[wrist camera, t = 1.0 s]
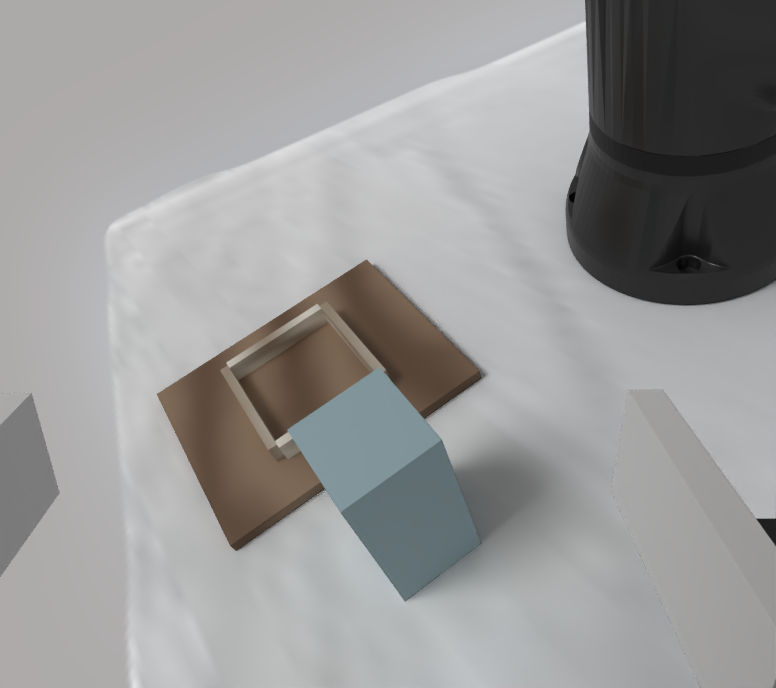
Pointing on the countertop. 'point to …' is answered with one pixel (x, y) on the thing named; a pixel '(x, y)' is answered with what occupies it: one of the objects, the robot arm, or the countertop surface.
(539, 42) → the countertop surface
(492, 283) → the countertop surface
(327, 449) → the blue-grey tall block
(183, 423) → the board
